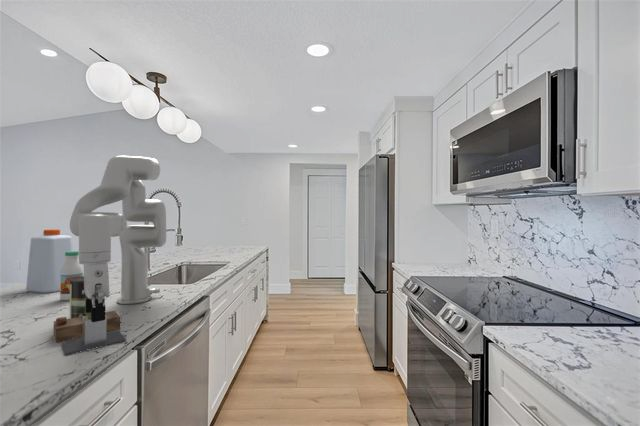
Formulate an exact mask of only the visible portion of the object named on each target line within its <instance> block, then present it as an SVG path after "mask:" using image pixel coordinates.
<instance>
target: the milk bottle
mask: <svg viewBox="0 0 640 426" xmlns="http://www.w3.org/2000/svg"><path fill="white" fill-rule="evenodd" d="M65 257H66V260H65V263H64V265H63V267H62V269H61V274H60V291H59V298H60V300H61V301H70V282H69V280H70V279H72V278H76V277H82V276H84V268H83V266H82V264H79V250H73V251H67V252H65Z"/></svg>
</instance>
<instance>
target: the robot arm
mask: <svg viewBox="0 0 640 426" xmlns="http://www.w3.org/2000/svg"><path fill="white" fill-rule="evenodd" d="M160 174H161V165H160V163H159V161H158V160H157V159H156V158H151V157H147V156H130V155H116V156H113V157H111V158H110V159H108V162H107V164H106V166H105V170H104V173H103V176H102V180H101V183H100V185H99V186H97V187H95V188H93V189H91V190H90V191H88V192H87V193H86V194H84V195H82V197H80V198H79V200H77V201H76V204H75V206H74V208H73V210H72V213H71V216H70V219H69V229H70V233H72V235H74V236H76V237H78V251H79V256H78V260H79V264H81V265H83V276H84V292H85V294H86V313H90V312H91V321H92V322H98V321H103V320H105V312H106V299H105V300H104V296H105V298H109V297H110V293H111V292H110V275H109V263H111V261H112V250H111V249H112V248H111V247H112V242H111V241H112V238H113V237H118V238H119V244H120V251H121V252H120V253H121V271H120V272H121V277H120V279H121V283H120V284H121V285H120V286H121V287H120V289H121V293H120V296H119V297H118V298H117V299H116V303H117V304H121V305H133V304H142V303H145V302H148V301H150V300H151V299H152V294H159V293H160V288H159V287H158V288H155V287H153V288H149V287H148V277H149V276H148V274H149V273H148V272H149V271H148V267H149V266H148V262H149V261H148V255H147V254H146V252H144V250H143V249H145V248H161V247H163V246H165V245H166V241H167V210H166V205H165V203H164V202H163V201H162V200H161V199H148V198H147V197H146V195H147V194H146V187H145V185H144V183H143V182H142V181H156V180H158V178H159V177H160ZM120 201H121V204H122V205H121V206H122V207H121V209H122V214H121V213H118V212H101V211H100V212H99V211H98V212H97V211H96V212H95V210H97V209H99V208H102V207H105V206H107V205H111V204H114V203H117V202H120ZM128 222H129V223H130V222H131V223H132V222H133V223H152V224H130V225H128Z"/></svg>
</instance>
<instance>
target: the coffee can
mask: <svg viewBox="0 0 640 426" xmlns="http://www.w3.org/2000/svg"><path fill="white" fill-rule="evenodd" d="M69 282H70V300H69V319H70V318H76V317H82V316H86V314H91V312H90V313H86V294H85V292H84V275H83V276H82V277H76V278H72V279H70V280H69ZM104 300H105V301H106V296H104Z"/></svg>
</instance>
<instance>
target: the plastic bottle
mask: <svg viewBox="0 0 640 426" xmlns="http://www.w3.org/2000/svg"><path fill="white" fill-rule="evenodd" d="M42 233H43V234H42V235H35V236H32V237H31V239H30V245H29V255H28V266H27V275H26V286H25V287H26V288H25V289H26V291H27V292H29V293H39V294H50V293H55V292H60V274H61V269H62V267H63V265H64V263H65V260H66V257H65V252H67V251H74V250H73V248H74V247H73V237H72V235H69V234H68V235H67V234H66V235H65V234H61V230H60V229H54V228H53V229H43V232H42Z"/></svg>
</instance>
